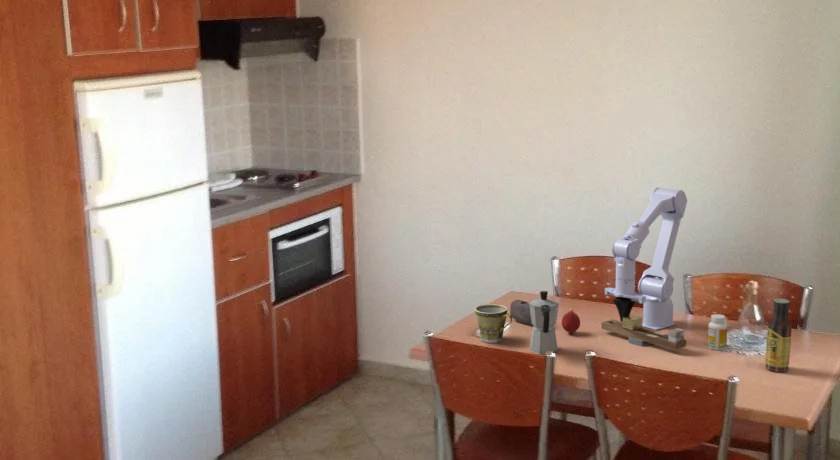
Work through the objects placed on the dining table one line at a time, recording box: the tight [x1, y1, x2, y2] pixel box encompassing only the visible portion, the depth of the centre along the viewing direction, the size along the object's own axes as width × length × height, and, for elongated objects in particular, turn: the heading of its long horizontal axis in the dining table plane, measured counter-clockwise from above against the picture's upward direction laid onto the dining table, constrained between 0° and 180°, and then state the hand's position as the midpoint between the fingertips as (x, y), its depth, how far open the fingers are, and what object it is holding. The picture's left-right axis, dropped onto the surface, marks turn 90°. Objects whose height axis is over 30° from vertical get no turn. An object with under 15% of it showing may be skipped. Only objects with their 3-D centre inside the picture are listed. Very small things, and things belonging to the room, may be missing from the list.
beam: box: [601, 318, 687, 351], centre depth 288 cm, size 7×28×6 cm, turn 38°
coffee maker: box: [528, 290, 560, 355], centre depth 280 cm, size 15×9×18 cm, turn 178°
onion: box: [561, 308, 581, 335], centre depth 297 cm, size 6×6×8 cm
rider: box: [623, 314, 643, 331], centre depth 290 cm, size 4×4×5 cm
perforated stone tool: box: [509, 299, 533, 327], centre depth 308 cm, size 15×5×7 cm, turn 37°
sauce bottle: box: [764, 298, 793, 373], centre depth 260 cm, size 6×6×20 cm
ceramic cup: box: [474, 303, 513, 344], centre depth 292 cm, size 13×10×10 cm
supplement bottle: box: [707, 313, 728, 351], centre depth 281 cm, size 5×5×10 cm
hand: (624, 321), depth 293 cm, fingers closed
